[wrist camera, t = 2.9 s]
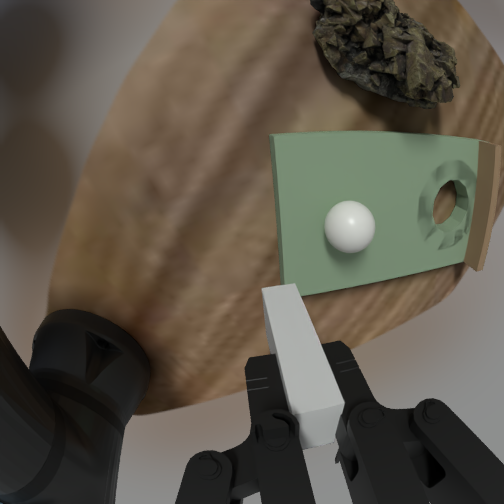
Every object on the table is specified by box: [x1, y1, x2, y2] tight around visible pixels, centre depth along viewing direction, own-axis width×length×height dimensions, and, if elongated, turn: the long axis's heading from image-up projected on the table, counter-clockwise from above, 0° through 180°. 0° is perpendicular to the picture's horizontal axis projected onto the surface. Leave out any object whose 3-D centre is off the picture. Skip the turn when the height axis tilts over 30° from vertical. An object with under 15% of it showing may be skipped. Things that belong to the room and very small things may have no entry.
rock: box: [310, 0, 460, 109], centre depth 17 cm, size 13×10×10 cm
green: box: [269, 131, 501, 296], centre depth 23 cm, size 24×14×4 cm, turn 96°
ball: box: [324, 201, 375, 253], centre depth 21 cm, size 4×4×4 cm
